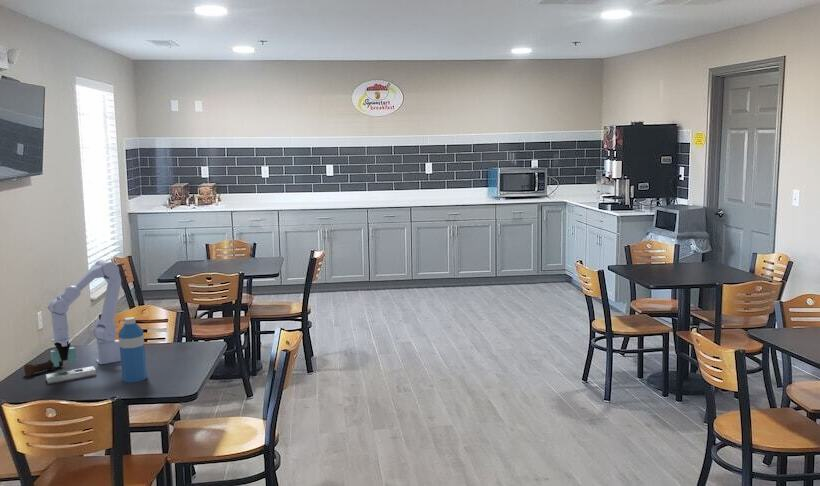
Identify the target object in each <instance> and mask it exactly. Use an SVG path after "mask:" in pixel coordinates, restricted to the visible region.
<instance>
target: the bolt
mask: <svg viewBox="0 0 820 486" xmlns="http://www.w3.org/2000/svg"><path fill="white" fill-rule="evenodd" d="M63 366H64V361H59V366H58V367H54V364H53V363H52V360H51V358H50V359H48V360H47V361H46V362H40V363H36V364H32V363H29V362H28V363H25V365H24V374H25V376H27V377H33V376H34V375H35V374H36V373H39V372H43V371H47V370H49V371H55V370H56V369H57V368H60V367H63Z"/></svg>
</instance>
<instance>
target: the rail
mask: <svg viewBox="0 0 820 486" xmlns="http://www.w3.org/2000/svg"><path fill="white" fill-rule="evenodd" d="M95 376H97V369H96V368H95V366H94V365H92V366H87V367H80V368H75V369H69V370H63V371H58V372H52V373H46V374H45V379H46V382H47V385H51V384H57V383H62V382H68V381H73V380H79V379H83V378H84V379H85V378H89V377H95Z"/></svg>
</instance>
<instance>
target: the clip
mask: <svg viewBox="0 0 820 486" xmlns="http://www.w3.org/2000/svg"><path fill="white" fill-rule="evenodd" d="M76 358H77V357H76V348H75V347H74V346H70V347H69V350H68V358H67V360H66V361H68V363H69V365H74V364H75V363H76V362H75V359H76ZM50 359H51V360H52V363H53V364H54V367H57V368H59V367H58V366H59V361H62V360H61V358H60V354H59V351H58V350H57V349H52V350H50Z"/></svg>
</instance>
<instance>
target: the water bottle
mask: <svg viewBox="0 0 820 486" xmlns="http://www.w3.org/2000/svg"><path fill="white" fill-rule="evenodd" d="M117 333H118V340H119V346H120V357H121V361H120V366H121V378H122V380H121V381H122V382H124V383H139V382H143V381H145V380H146V379H147V378H148V376H147V375H148V373H147V360H146V350H145V349H146V348H145V339H144V338H145V335H144V329H143V328H141V327H140V325H139V324H137V322H136V317H133V316H130V317H125V318H124V324H123V325H122V327H121V328H120V331H119V332H117Z"/></svg>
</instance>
